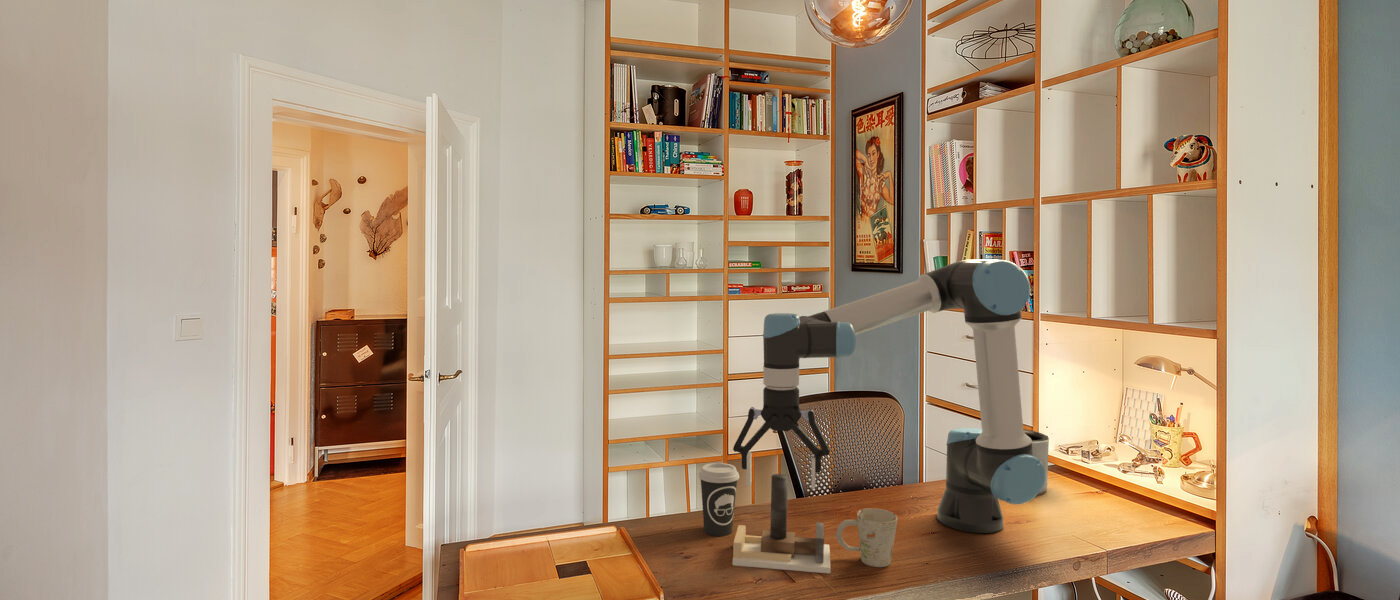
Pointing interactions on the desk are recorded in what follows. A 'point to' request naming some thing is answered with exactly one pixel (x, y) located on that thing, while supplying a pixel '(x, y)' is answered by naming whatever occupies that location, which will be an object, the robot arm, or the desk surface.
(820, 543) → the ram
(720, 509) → the coffee cup
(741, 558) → the white slotted peg base
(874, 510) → the mug
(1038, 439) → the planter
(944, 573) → the desk surface
